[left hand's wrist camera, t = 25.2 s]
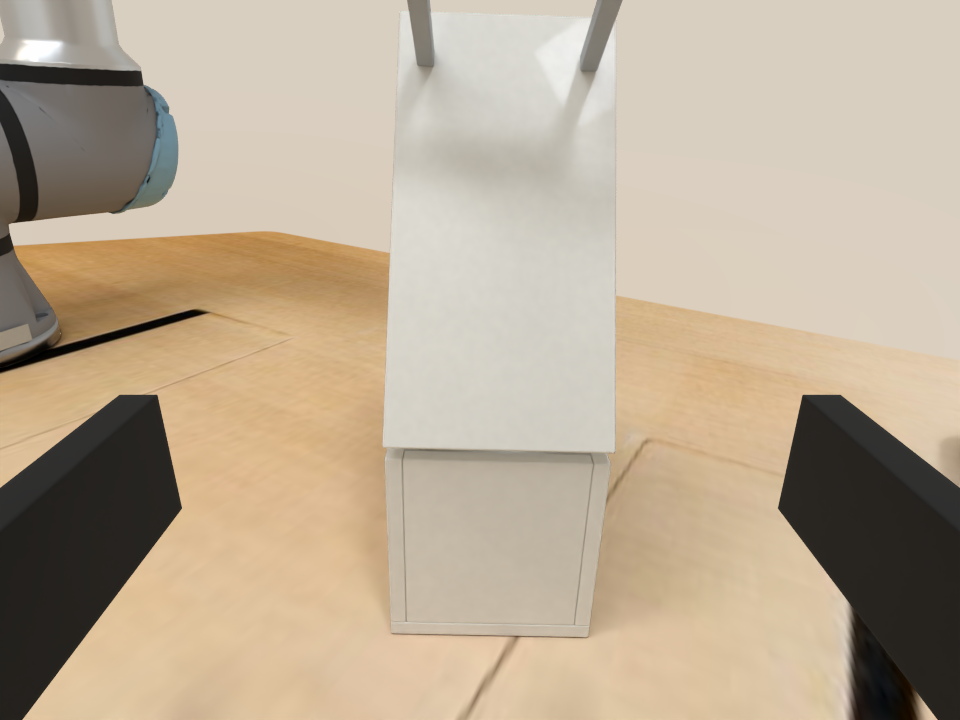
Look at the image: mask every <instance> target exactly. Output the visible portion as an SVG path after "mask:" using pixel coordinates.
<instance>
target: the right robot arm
mask: <svg viewBox="0 0 960 720" xmlns="http://www.w3.org/2000/svg"><path fill="white" fill-rule="evenodd" d="M0 17H1V22H2V26H3V30H4V35H5V37H4V39H3V42H2V43H1V44H0V368H2V367H6V366H9V365H12V364H15V363H18V362H21V361H23V360H26V359H28V358H31V357H33V356H35V355H37V354H39V353H41V352H43V351H45V350H46V349H48V348H50V347H51V346H52V345H54V344H55V343H56V342H57V341H58V340H59V338H60V336H61V331H60V327H59V323H58V319H57V316H56V315H55V313H54V311H53V309H52V307H51V306H50V305H49V303H48V302H47V300H46V299H45V297H44V296H43V295H42V293H41V292H40V290H39V289H38V287H37V286H36V285H35V283H34V282H33V280H32V279H31V277H30V276H29V275H28V273H27V272H26V270H25V269H24V267H23V266H22V265H21V263H20V262H19V260H18V258H17V256H16V254H15V251H14V247H13V244H12V240H11V236H10V233H9V225H8V224H11V223H17V222H26V221H35V220H43V219H51V218H59V217H68V216H78V215H87V214H96V213H106V212H109V213H112V214H117V213H122V212H124V211H126V210H129V209H135V208H142V207H148V206H151V205H154V204H156V203H158V202H159V201H161V200H162V199H163V198H164V197H165V195H166V194H167V192H168V190H169V188H170V187H171V186H172V184H173V181H174V178H175V175H176V170H177V164H178V138H177V131H176V126H175V122H174V119H173V116H172V115H170V114H169V106H168V104H167V103H166V101H165V99H164V98H163V97H162V96H161V95H160V94H159V93H158V92H157V91H155V90H154V89H151V88H150V87H148V86H146V85H143V79H142V73H141V67H140V66H139V65H138V64H137V63H136V62H135V61H134V60H133V59H132V58H130V57H129V56H128V55H127V54H126V53H125V52H124V51H123V50H122V48H121V47H120V45H119V43H118V37H117V31H116V25H115V19H114V12H113V6H112V0H0Z"/></svg>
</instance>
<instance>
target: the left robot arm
mask: <svg viewBox="0 0 960 720" xmlns="http://www.w3.org/2000/svg"><path fill="white" fill-rule="evenodd" d="M181 509H182V506H181V502H180V497H179V492H178V488H177V483H176V479H175V474H174V469H173V465H172V460H171V456H170V451H169V446H168V442H167V437H166V433H165V428H164V423H163V419H162V414H161V410H160V405H159V400H158V396H157V395H119V396H118V397H116V398H115V399H114V400H112V401H111V402H110V403H109V404H107V405H106V406H105V407H103V408H102V409H101V410H100V411H98V412H97V413H96V414H95V415H93V416H92V417H91V418H89V419H88V420H87V421H86V422H84V423H83V424H82V425H80V426H79V427H78V428H77V429H75V430H74V431H73V432H71V433H70V434H69V435H68V436H66V437H65V438H64V439H62V440H61V441H60V442H59V443H57V444H56V445H55V446H53V447H52V448H51V449H50V450H48V451H47V452H46V453H44V454H43V455H42V456H41V457H39V458H38V459H37V460H36V461H34V462H33V463H32V464H30V465H29V466H28V467H27V468H25V469H24V470H23V471H21V472H20V473H19V474H18V475H16V476H15V477H14V478H12V479H11V480H10V481H9V482H7V483H6V484H5V485H3V486H2V487H1V488H0V720H22V719H23V718H24V717H25V715H26V714H27V713H28V712H29V710H30V709H31V708H32V706H33V705H34V704H35V702H36V701H37V700H38V698H39V697H40V696H41V694H42V693H43V692H44V690H45V689H46V688H47V686H48V685H49V684H50V682H51V681H52V680H53V678H54V677H55V676H56V674H57V673H58V672H59V670H60V669H61V668H62V667H63V665H64V664H65V663H66V661H67V660H68V659H69V657H70V656H71V655H72V653H73V652H74V651H75V649H76V648H77V647H78V645H79V644H80V643H81V641H82V640H83V639H84V637H85V636H86V635H87V633H88V632H89V631H90V629H91V628H92V627H93V625H94V624H95V623H96V622H97V620H98V619H99V618H100V616H101V615H102V614H103V612H104V611H105V610H106V608H107V607H108V606H109V604H110V603H111V602H112V600H113V599H114V598H115V596H116V595H117V594H118V592H119V591H120V590H121V588H122V587H123V586H124V584H125V583H126V582H127V580H128V579H129V578H130V577H131V575H132V574H133V573H134V571H135V570H136V569H137V567H138V566H139V565H140V563H141V562H142V561H143V559H144V558H145V557H146V555H147V554H148V553H149V551H150V550H151V549H152V547H153V546H154V545H155V543H156V542H157V541H158V539H159V538H160V537H161V536H162V534H163V533H164V532H165V530H166V529H167V528H168V526H169V525H170V524H171V522H172V521H173V520H174V518H175V517H176V516H177V514H178V513H179V512H180V510H181ZM778 509H779V510H780V512H781V513H782V514H783V516H784V517H785V518H786V520H787V521H788V522H789V524H790V525H791V526H792V528H793V529H794V530H795V532H796V533H797V534H798V536H799V537H800V538H801V539H802V541H803V542H804V543H805V545H806V546H807V547H808V549H809V550H810V551H811V553H812V554H813V555H814V557H815V558H816V559H817V561H818V562H819V563H820V565H821V566H822V567H823V569H824V570H825V571H826V573H827V574H828V575H829V577H830V578H831V579H832V581H833V582H834V583H835V584H836V586H837V587H838V588H839V590H840V591H841V592H842V594H843V595H844V596H845V598H846V599H847V600H848V602H849V603H850V604H851V606H852V607H853V608H854V610H855V611H856V612H857V614H858V615H859V616H860V618H861V619H862V620H863V622H864V623H865V624H866V625H867V627H868V628H869V629H870V631H871V632H872V633H873V635H874V636H875V637H876V639H877V640H878V641H879V643H880V644H881V645H882V647H883V648H884V649H885V651H886V652H887V653H888V655H889V656H890V657H891V659H892V660H893V661H894V663H895V664H896V665H897V667H898V668H899V669H900V670H901V672H902V673H903V674H904V676H905V677H906V678H907V680H908V681H909V682H910V684H911V685H912V686H913V688H914V689H915V690H916V692H917V693H918V694H919V696H920V697H921V698H922V700H923V701H924V702H925V704H926V705H927V706H928V708H929V709H930V710H931V712H932V713H933V714H934V715H935V717H936V718H937V719H938V720H960V488H959V487H958V486H957V485H955V484H954V483H953V482H951V481H950V480H949V479H948V478H946V477H945V476H944V475H942V474H941V473H940V472H939V471H937V470H936V469H935V468H933V467H932V466H931V465H930V464H928V463H927V462H926V461H924V460H923V459H922V458H921V457H919V456H918V455H917V454H916V453H914V452H913V451H912V450H910V449H909V448H908V447H907V446H905V445H904V444H903V443H901V442H900V441H899V440H898V439H896V438H895V437H894V436H892V435H891V434H890V433H889V432H887V431H886V430H885V429H883V428H882V427H881V426H880V425H878V424H877V423H876V422H874V421H873V420H872V419H871V418H869V417H868V416H867V415H865V414H864V413H863V412H862V411H860V410H859V409H858V408H857V407H855V406H854V405H853V404H851V403H850V402H849V401H848V400H846V399H845V398H844V397H842V396H841V395H803V396H802V400H801V405H800V410H799V414H798V419H797V423H796V428H795V433H794V437H793V442H792V446H791V451H790V456H789V460H788V465H787V469H786V474H785V479H784V483H783V488H782V492H781V497H780V502H779V506H778Z"/></svg>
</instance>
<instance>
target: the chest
mask: <svg viewBox="0 0 960 720" xmlns="http://www.w3.org/2000/svg"><path fill="white" fill-rule="evenodd" d="M384 461H385V487H386V513H387V539H388V564H389V590H390V616H391V633H396V634H448V635H500V636H551V637H588V635H589V627H590V620H591V612H592V605H593V597H594V590H595V582H596V575H597V567H598V560H599V552H600V545H601V537H602V530H603V522H604V515H605V507H606V500H607V492H608V485H609V477H610V470H611V463H610V460H609V458H608V455H607V453H574V452H531V451H488V450H446V449H403V448H387V452H386V456H385V459H384Z"/></svg>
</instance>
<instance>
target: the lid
mask: <svg viewBox="0 0 960 720" xmlns="http://www.w3.org/2000/svg"><path fill="white" fill-rule="evenodd" d="M407 1H408V8H409V11H400V13H399V37H398V63H397V89H396V114H395V140H394V164H393V189H392V214H391V240H390V265H389V290H388V315H387V341H386V366H385V391H384V416H383V442H382V446H383V448H403V449H446V450H488V451H531V452H574V453H615V451H616V17H617V14H618V11H619V8H620V6H621V3H622V0H597V2H596V6H595V9H594V12H593V16H592V17H567V16H538V15H507V14H476V13H446V12H431V9H430V0H407Z"/></svg>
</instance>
